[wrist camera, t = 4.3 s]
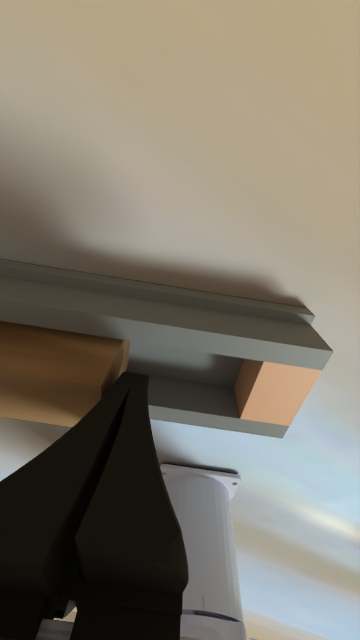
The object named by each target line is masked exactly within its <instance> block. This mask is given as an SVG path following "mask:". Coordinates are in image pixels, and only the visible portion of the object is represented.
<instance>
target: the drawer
mask: <svg viewBox="0 0 360 640" xmlns="http://www.w3.org/2000/svg"><path fill="white" fill-rule="evenodd" d="M129 349H130V341H128V340H121V339H115V338H109V337H102V336H96V335H89V334H83V333H76V332H70V331H63V330H57V329H50V328H44V327H37V326H31V325H24V324H18V323H11V322H5V321H0V417H6V418H13V419H20V420H27V421H34V422H40V423H47V424H54V425H61V426H68V427H73V426H74V425H75V424H77V423H78V422H79V421H80V420H81V419H82V418H83V417H84V416H85V415H86V414H87V413H88V412H89V411H90V410H91V409H92V408H93V407H94V406H95V405H96V404H97V403H98V402H99V400H100V399H101V398H102V397H103V396H104V395H105V394H106V393H107V392H108V390H109V389H110V388H111V387H112V385H113V384H114V383H115V382H116V380H117V379H118V378H119V376H120V375H121V374H122V373H123V372H126V369H127V367H128V364H129Z"/></svg>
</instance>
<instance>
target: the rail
mask: <svg viewBox="0 0 360 640" xmlns="http://www.w3.org/2000/svg"><path fill="white" fill-rule="evenodd" d="M314 317H315V315H314V314H313V313H312V312H311V311H310V310H309V309H308V308H303V307H297V306H290V305H284V304H278V303H271V302H265V301H259V300H253V299H246V298H240V297H234V296H227V295H221V294H215V293H209V292H202V291H196V290H190V289H184V288H177V287H171V286H165V285H158V284H152V283H146V282H140V281H133V280H127V279H121V278H115V277H108V276H102V275H96V274H89V273H83V272H77V271H71V270H64V269H58V268H52V267H46V266H39V265H33V264H27V263H20V262H14V261H8V260H2V259H0V321H5V322H11V323H18V324H24V325H31V326H37V327H44V328H50V329H57V330H63V331H70V332H76V333H83V334H89V335H96V336H102V337H109V338H115V339H121V340H128V341H130V349H129V364H128V367H127V369H126V372H131V373H137V374H144V375H148V376H149V377H150V378H149V387H148V408H149V418H150V419H155V420H161V421H168V422H175V423H182V424H189V425H195V426H202V427H209V428H216V429H222V430H229V431H236V432H243V433H249V434H256V435H263V436H270V437H276V438H283V436H284V434H285V433H286V431H287V429H288V428H289V426H290V424H291V423H292V421H293V419H294V418H295V416H296V414H297V412H298V411H299V409H300V407H301V406H302V404H303V402H304V401H305V399H306V397H307V396H308V394H309V392H310V390H311V389H312V387H313V385H314V384H315V382H316V380H317V379H318V377H319V375H320V374H321V372H322V370H323V368H324V367H325V365H326V363H327V362H328V360H329V358H330V357H331V355H332V353H333V350H332V349H331V348H330V347H329V346H328V345H327V343H326V342H325V341H324V340H323V339H322V338H321V337H320V335H319V334H318V333H317V332H316V331H315V330H314V328H313V327H312V326H311V323H312V321H313V319H314Z"/></svg>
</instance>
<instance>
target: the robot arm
mask: <svg viewBox="0 0 360 640" xmlns="http://www.w3.org/2000/svg"><path fill="white" fill-rule="evenodd" d="M149 378H150V377H149V376H148V375H144V374H137V373H131V372H123V373H122V374H121V375H120V376H119V378H118V379H117V380H116V382H115V383H114V384H113V385H112V387H111V388H110V389H109V390H108V392H107V393H106V394H105V395H104V396H103V397H102V398H101V399H100V400H99V402H98V403H97V404H96V405H95V406H94V407H93V408H92V409H91V410H90V411H89V412H88V413H87V414H86V415H85V416H84V417H83V418H82V419H81V420H80V421H79V422H78V423H77V424H75V425H74V426H73V427H72V428H71V429H70V430H69V431H68V432H66V433H65V434H64V435H63V436H62V437H61V438H59V439H58V440H57V441H56V442H54V443H53V444H52V445H51V446H49V447H48V448H47V449H46V450H44V451H43V452H42V453H40V454H39V455H38V456H36V457H35V458H34V459H32V460H31V461H29V462H28V463H27V464H25V465H24V466H22V467H21V468H19V469H18V470H17V471H15V472H14V473H12V474H11V475H9V476H8V477H6V478H5V479H3V480H2V481H0V640H247V635H246V630H245V626H244V623H243V615H242V606H241V597H240V588H239V579H238V570H237V561H236V552H235V543H234V534H233V525H232V516H231V507H230V501H231V499H232V497H233V496H234V494H235V492H236V490H237V488H238V486H239V484H240V482H241V477H240V475H238V474H231V473H224V472H218V471H211V470H204V469H197V468H190V467H183V466H176V465H169V464H162V465H160V466H159V462H158V458H157V454H156V450H155V446H154V441H153V436H152V431H151V425H150V418H149V408H148V387H149ZM75 607H76V608H77V614H76V618H75V621H74V622H66V621H59V620H53V619H54V618H60V619H63V617H66V616H67V615H68V614H69V613H70V612H71V611H72V610H73V609H74V608H75ZM249 640H257V639H253V638H249Z"/></svg>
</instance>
